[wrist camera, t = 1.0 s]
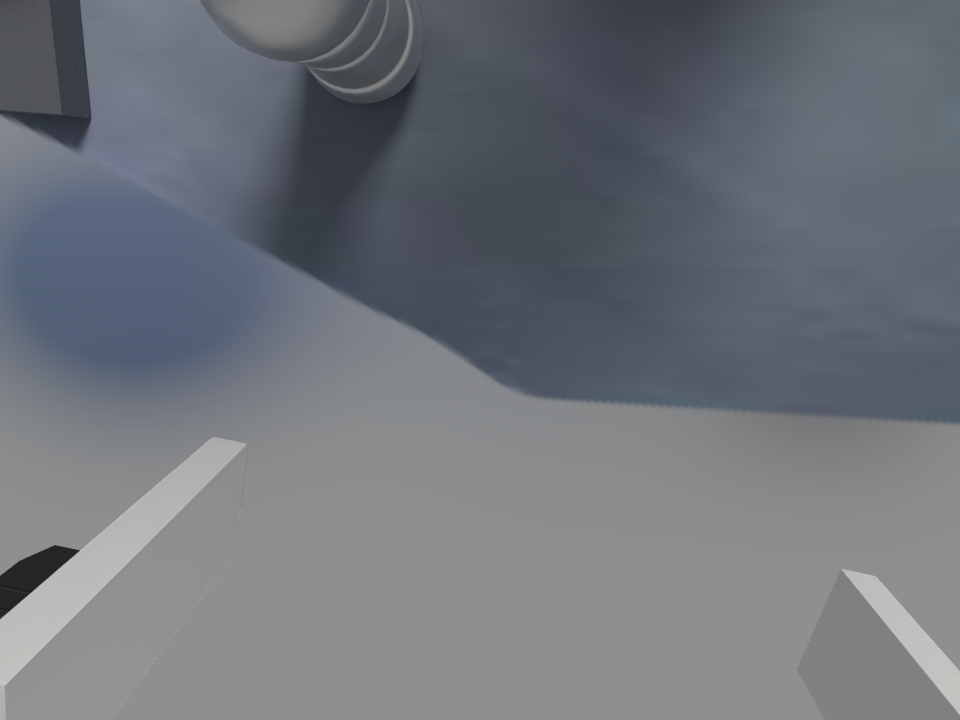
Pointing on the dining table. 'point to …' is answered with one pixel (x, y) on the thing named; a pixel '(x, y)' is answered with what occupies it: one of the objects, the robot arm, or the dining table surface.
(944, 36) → the dining table surface
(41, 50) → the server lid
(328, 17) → the plastic bottle
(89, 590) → the robot arm
